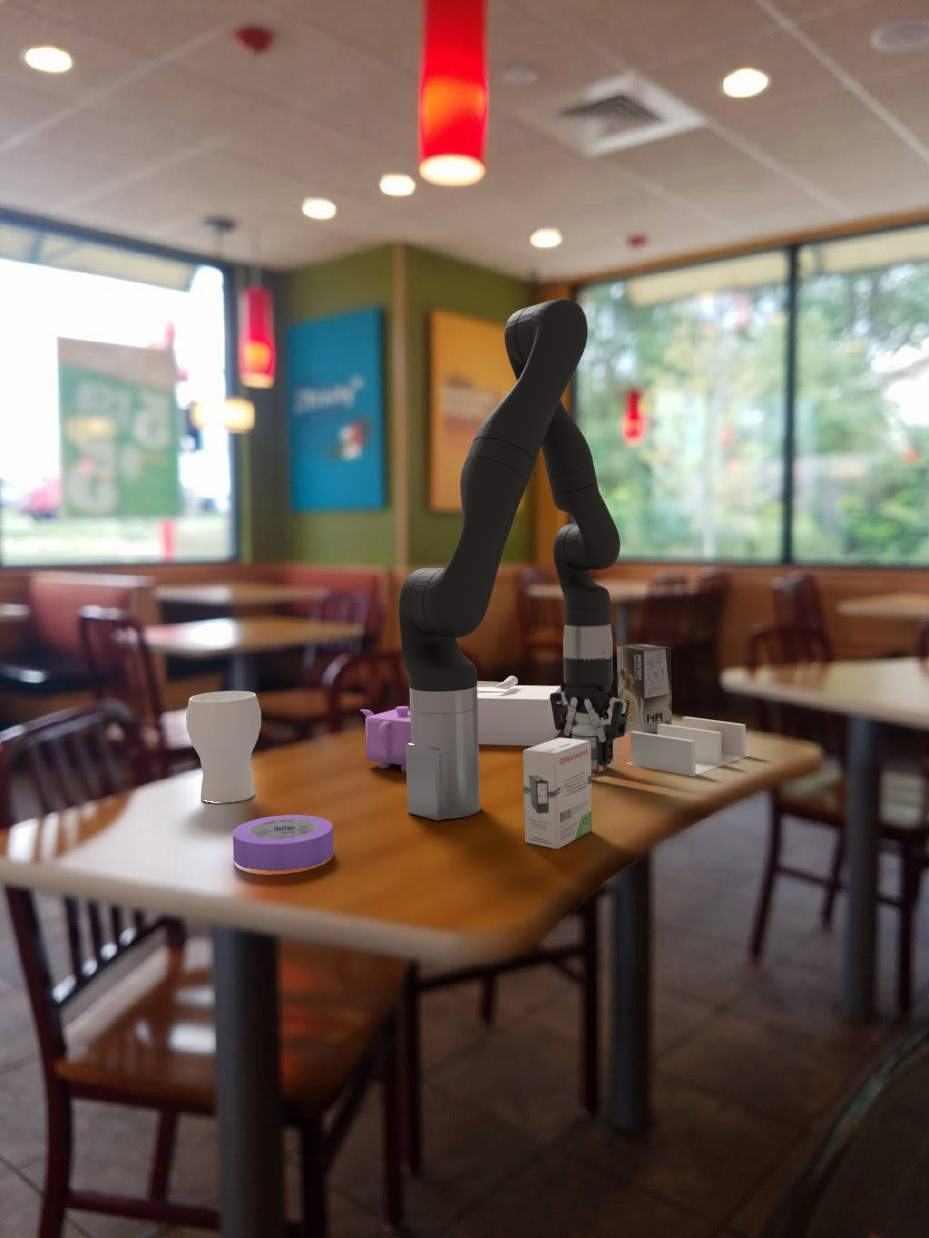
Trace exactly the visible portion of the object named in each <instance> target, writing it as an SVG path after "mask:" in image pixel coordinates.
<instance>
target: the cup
mask: <svg viewBox="0 0 929 1238" xmlns="http://www.w3.org/2000/svg"><path fill="white" fill-rule="evenodd" d="M185 720H186V721H185V723H186V731H187V734H188V738H189V740H190V743H191V745H192V747H193V748H194V750H195V752H196V754H197V755H198V757H199V759H200V760H199V761H200V765H201V771H202V779H201V780H202V781H201V789H200V800H201V799H202V800H207V801H213V802H232V803H237V802H236V801H238V802H242V801H246V800H249V799H251V798H253V797H254V796H255V786H254V783H253V778H252V773H251V762H252V753H253V750H254V748H255V746H256V744H257V741H258V739H259V734H260V730H261V726H262V710H261V708H260V704H259V700H258V696H257V694H256V693H255V692H253V691H252V692H251V691H246V690H245V691H244V690H243V691H242V690H224V691H222V690H221V691H212V692H204V693H200V694H195V695H193V696H191V697H189V699H188V703H187V709H186V715H185ZM202 800H201V801H202Z"/></svg>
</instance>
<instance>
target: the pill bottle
mask: <svg viewBox="0 0 929 1238" xmlns="http://www.w3.org/2000/svg"><path fill="white" fill-rule="evenodd" d="M600 720H601V721H603V717H602V718H600ZM576 722H577V725H575V726H574V727H573V728H572V739H578V740H586V741H589V742H591V778H600V777H602V776H604V774H599V773H597V772H603V771H605V770H607V768H608V765H605V766H602V765H599V742H600V739H599V736H598V733H597V730H596V728H594V727H593V724H592V721H591V718H590V715H589V714H588V713H580V712H576Z"/></svg>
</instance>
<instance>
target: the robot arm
mask: <svg viewBox="0 0 929 1238" xmlns="http://www.w3.org/2000/svg"><path fill="white" fill-rule="evenodd" d="M588 326H589V325H588V319H587V317H586V314H585V311H584V310H583V308H582V307H581V306H580V305H579V304H578V303H577V302H575V300H571V299H568V298H559V299H552V300H551V299H550V300H548V301H547V300H546V301H544V302H541V303H537V304H534V305H531V306H528V307H525V308H521V309H519V310H517V311H515V312H514V313H512V315H510V317H509V318H508V320H507V322H506V324H505V327H504V336H503V337H504V345H505V350H506V353H507V357H508V360H509V364H510V367H511V369H512V371H513V373H514V377H515V380H516V383H515V384H514V385H513V387H512V388H511V389H510V390H509V392H508V393H507V394H506V395H505V396H504V397H503V398H502V400H501V401H500V402H499V403H498V404H497V405H496V407H494V409H493V410H492V411H491V413H489V415H488V416H487V418H485V420H484V421H483V423H482V424H481V425H480V427H479V428H478V430H477V432H476V434H475V436H474V437H473V440H472V443H471V446H470V448H469V450H468V453H467V456H466V458H465V461H464V463H463V467H462V470H461V473H460V483H459V485H460V486H459V488H460V489H459V491H460V501H461V512H462V523H461V530H460V534H459V536H458V540H457V542H456V545H455V547H454V550H453V553H452V554H451V557H450V559H449V561H448V563H447V565H446V567H423V568H420V569H419V568H418V569H417V570H415V571H412V573H410V574H409V575H408V576H407V577H406V579H405V580H404V582H403V583H402V587H401V590H400V594H399V599H398V601H399V602H398V619H399V622H398V623H399V631H400V633H399V635H400V643H401V657H402V662H403V665H404V668H405V670H406V673H407V676H408V682H409V683H408V684H409V711H410V720H411V743H409V744H407V745H406V771H407V772H406V792H407V794H406V795H407V798H406V800H407V801H406V802H407V813H410V814H412V815H416V816H419V817H422V818H423V817H424V818H426V819H430V820H432V821H442V820H447V819H460V818H465V817H468V816H472V815H475V814H477V813H478V812H480V810H481V787H480V786H481V781H480V777H481V776H480V775H481V774H480V747H479V746H480V744H479V736H478V695H477V681H478V672H477V671H478V670H477V666H476V665H475V663H474V662H473V661H471V660H470V659H469V658H468V657H467V656H465V655H464V653H463V652H462V650H461V648H460V647H459V645H458V644H459V643H458V639H457V638H465V637H467V636H470V635H471V634H472V633H474V632H475V631H476V630H477V629H478V628H479V626H480V624H481V623H482V622H483V620H484V618H485V615H486V613H487V611H488V608H489V606H490V601H491V597H492V594H493V590H494V586H495V584H496V583H495V582H496V579H497V575H498V570H499V567H500V564H501V560H502V556H503V553H504V548H505V546H506V543H507V540H508V537H509V534H510V532H511V528H512V526H513V523H514V521H515V517H516V514H517V511H518V508H519V506H520V503H521V502H522V499H523V497H524V494H525V493H526V489H527V487H528V485H529V481H530V479H531V477H532V474H533V471H534V469H535V465H536V463H537V459H538V456H539V453H540V450H541V452H542V456H543V459H544V464H545V469H546V474H547V479H548V483H549V488H550V492H551V497H552V502H553V505H554V506H555V508H556V509H557V510H559V511H561V512H564V513H567V514H569V515H570V516H572V518H573V520H574V522H575V523H569V524H566V525H563V526H562V527H561V528H560V529H559V530H558V532H557V533H556V535H555V538H554V540H553V545H552V556H553V563H554V567H555V570H556V573H557V577H558V581H559V586H560V589H561V592H562V595H563V600H564V601H563V602H564V606H563V608H564V630H563V638H562V641H563V642H562V645H563V646H562V647H563V648H562V649H563V650H562V651H563V656H562V657H563V682H564V684H566V686H565V690H564V691H563V690H561V691H560V692H555V693H551V694H550V700H551V706H552V712H553V718H554V724H555V728H556V730H561V731H560V732H562V733H563V734H564V735H565V738H568V739H572V728H573V727H574V726H575V725H577V722H576V712H580V713H588V714H589V715H590V718H591V721H592V724H593V727H594V728H596V730H597V733H598V736H599V739H600V742H599V765H602V766H605V765H607V766H608V765H610V764H611V763H612V761H613V760H614V740H616V739H619V738H623V737H625V734H626V731H625V729H626V723H627V717H628V710H629V701H628V700H627V699H625V700H620V699H618V697H614V694H613V692H612V684H613V682H614V671H613V670H614V663H613V659H614V655H613V645H614V644H613V634H612V633H613V632H612V625H611V595H610V591H609V590H608V589H607V588H606V587H604V586H603V585H600V584H597V583H596V582H595V581H594V579H593V577H592V572H591V571H592V570H593V571H594V570H595V571H600V570H601V571H602V570H607V569H609V568H611V567H612V566H614V565H615V563H616V562H617V560H618V558H619V556H620V550H621V539H620V538H621V537H620V533H619V531H618V528H617V526H616V524H615V520H614V519H613V517H612V515H611V513H610V511H609V508H608V506H607V504H606V502H605V500H604V498H603V497H602V495H601V492H600V490H599V484H598V479H597V475H596V468H595V465H594V458H593V456H592V451H591V449H590V446H589V444H588V441H587V439H586V438H585V436H584V434H583V432H582V431H581V429H580V427H578V425H577V424H576V422H575V421H574V420H573V418H572V417H571V415H570V414H569V412H568V411H567V409H566V408H565V405H564V404H563V402H562V400H561V399H562V397H563V394H564V392H565V390H566V389H567V387H568V385H569V383H570V381H571V379H572V377H573V375H574V373H575V372H576V369H577V367H578V366H579V363H580V361H581V358H582V357H583V354H584V352H585V350H586V345H587V342H588V334H589V333H588V331H589V330H588V329H589V327H588ZM568 707H569V708H568ZM609 708H610V709H609ZM600 718H602V721H601V720H600Z"/></svg>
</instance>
